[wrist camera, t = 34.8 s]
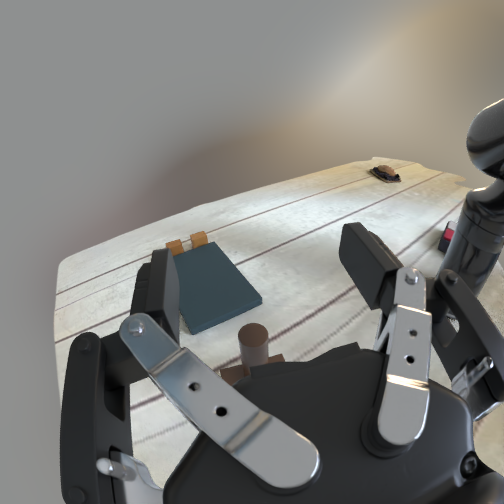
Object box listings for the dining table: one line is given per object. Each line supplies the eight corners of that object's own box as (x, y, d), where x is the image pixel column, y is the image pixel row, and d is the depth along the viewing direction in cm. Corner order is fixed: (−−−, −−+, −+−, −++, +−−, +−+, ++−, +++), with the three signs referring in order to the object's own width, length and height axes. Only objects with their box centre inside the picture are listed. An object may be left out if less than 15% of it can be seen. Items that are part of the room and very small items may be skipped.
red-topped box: (449, 218, 55) (496, 240, 45) (445, 232, 57) (491, 254, 48) (441, 235, 49) (496, 261, 39) (436, 251, 51) (489, 277, 42)
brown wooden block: (209, 247, 55) (205, 242, 57) (206, 235, 53) (203, 230, 55) (195, 252, 54) (192, 247, 56) (192, 239, 52) (189, 234, 54)
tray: (215, 247, 55) (214, 241, 54) (262, 303, 43) (262, 297, 42) (159, 268, 51) (157, 262, 50) (192, 335, 38) (190, 329, 37)
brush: (281, 362, 34) (285, 307, 27) (293, 390, 31) (302, 341, 24) (222, 378, 32) (206, 326, 25) (230, 408, 29) (215, 365, 22)
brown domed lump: (367, 171, 88) (368, 161, 86) (385, 170, 89) (386, 161, 87) (385, 183, 80) (386, 172, 77) (403, 182, 81) (404, 172, 78)
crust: (184, 256, 53) (182, 251, 55) (181, 244, 51) (179, 238, 53) (170, 260, 52) (168, 255, 54) (167, 248, 50) (165, 243, 52)
